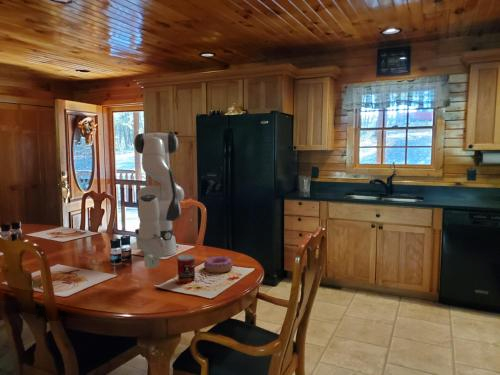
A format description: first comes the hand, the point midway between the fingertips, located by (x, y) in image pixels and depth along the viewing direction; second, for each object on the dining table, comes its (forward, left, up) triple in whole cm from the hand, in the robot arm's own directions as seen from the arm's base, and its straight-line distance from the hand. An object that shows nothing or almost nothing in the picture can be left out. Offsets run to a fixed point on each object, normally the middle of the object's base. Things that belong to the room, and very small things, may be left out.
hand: (151, 262), depth 167 cm
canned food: (+6, +14, -10) cm, 18 cm away
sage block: (0, 0, -2) cm, 2 cm away
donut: (+5, +34, -10) cm, 36 cm away
